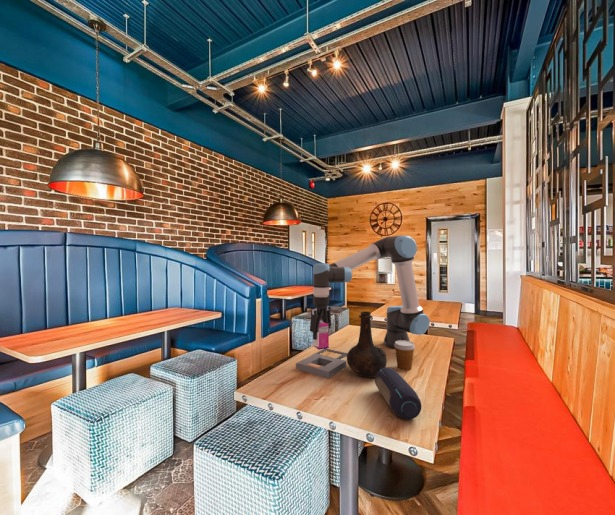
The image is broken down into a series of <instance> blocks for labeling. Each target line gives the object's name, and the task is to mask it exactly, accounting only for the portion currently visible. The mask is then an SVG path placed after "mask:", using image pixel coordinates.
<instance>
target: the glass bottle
mask: <svg viewBox="0 0 615 515" xmlns="http://www.w3.org/2000/svg"><path fill="white" fill-rule="evenodd" d="M371 313H372V312H371V311H361V312H360V315H359V316H358V318H360V325H359V335H358V336H359V337H358V342H357V344H356V345H354V346H353V347H351V348H350V349H349V351H348V352H347V353H348V354H347V356H346V364H347V365H348V367H349V369H350V370H351V371H352V372H353V373H354V374H355V375H357V376H360V377H364V378H375V377H376V375H377V372H378V371H379V370H380V369H382V368H385V367H387V354H386V352H385V350H384V349H383V348H380V347H379V346H376V345H375V344H374V340H373V337H372V336H373V335H372V324H371V323H372V322H371V321H372V320H371V319H372V318H373V315H371Z"/></svg>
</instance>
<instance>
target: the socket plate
mask: <svg viewBox="0 0 615 515" xmlns="http://www.w3.org/2000/svg"><path fill="white" fill-rule="evenodd" d="M316 353H317V352H315V353H313V354H312V355H308V356H307V357H305V358H303V359H302V360H299V361H297V362H296V363H295V367H296V368H295V370H297V369H298V371H301V372H304V373H307V372H308V374H311V375H314V374H315V375H314V376H318V375H319V376H318V377H321V376H322V378H324V377H325V379H330V378H332V377H333V376H335V375H336V374H338V373H339V372H341V371H343V370H345V369H346V368H347V360H345V359H344V360H343V359H336V358H337V357H332V356H327V355H323V354H316ZM317 364H318V365H317ZM322 364H323V365H322ZM342 369H343V370H342ZM331 376H332V377H331Z"/></svg>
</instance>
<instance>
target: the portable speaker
mask: <svg viewBox="0 0 615 515" xmlns="http://www.w3.org/2000/svg"><path fill="white" fill-rule="evenodd" d="M374 378H375V379H374V382H375V385H376V388H377V389H378V391H379V393H380V394H381V396H382V397H383V398H384V400H385V401H386V403H387V405H388V406H389V408H390V409H391V410H392V412H393V414H395V416H397V417H399V418H400V419H404V420H413V419H416V418H417V417H418V416H420V413H421V411H422V402H421V399H420V398H419V395H418V393H417V391H415V390H414V388H413V387H412V386H411V385H410V384H409V383H408V382H407V381H406V380H405V379H404V378H403V377H402V376H401V375H400V373H398V371H397V370H396V369H394V368H392V367H389V366H386V367H385V368H382V369H380V370H379V371H378V372H377V375H376V376H374Z"/></svg>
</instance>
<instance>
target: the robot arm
mask: <svg viewBox="0 0 615 515" xmlns="http://www.w3.org/2000/svg"><path fill="white" fill-rule="evenodd" d="M417 252H418V245H417V243H416V241H415V239H414V238H413V237H411V236H410V235H395V236H394V235H393V236H386V237H383V238H381V239H378V240H376V241H374V242H372V243H370V244H369V245H368V246H367V247H366V248H363V249H361V250H359V251H357V252H355V253H353V254H351V255H348V256H346V257H343V258H342V259H339V260H337V261H334V262H333V263H330V264H329V263H323V262H322V263H321V262H320V263H319V262H318V263H315V264H313V268H312V269H313V270H312V276H313V277H312V278H313V279H312V282H313V283H312V284H313V286H312V287H313V288H312V289H313V290H312V291H313V292H312V293H313V297H312V304H313V305H314V309H311V310H310V321H309V322H310V324H309V332H312V346H313V347H314V346H316V347H319V332H318V328H319V324H320V322H321V319H322V322H325V323H327V324H328V325H329V329H332V316H331V315H332V313H331V308H332V307H331V306H329V304H330V297H329V296H330V284H340V283H341V284H342V283H343V284H344V283H350V282H351V281H352V279H353V270H354V269H356V268H360V267H361V266H362V265H365V264H367V263H370V262H372V261H374V260H376V261H377V260H380V259H384V258H390V260H391V264H393V265H394V267H395V271H396V277H397V282H398V288H399V293H400V298H401V305H392V306H388V307H387V308H386V332H385V335H384V338H383V345H384V346H385V347H387V348H390V349H395V346H394V344H395V342H396V341H399V340H405V341H410V342H411V340H410V337H409V333H411V334H412V335H416V336H417V335H418V336H421V335H423V334H425V333H426V332H427V331H428V329H429V327H430V317H429V316H428V315H427V314H425V313H424V308H423V307H422V306H421V305H420V303H419V298H418V291H417V285H416V280H415V273H414V269H413V268H414V267H413V261H414V260H415V255H416V254H417ZM316 347H315V348H316Z"/></svg>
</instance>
